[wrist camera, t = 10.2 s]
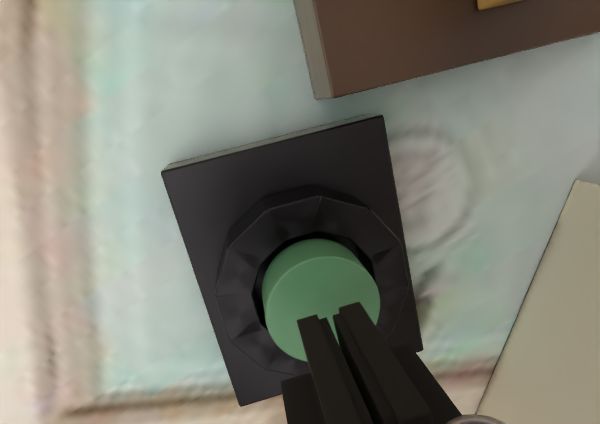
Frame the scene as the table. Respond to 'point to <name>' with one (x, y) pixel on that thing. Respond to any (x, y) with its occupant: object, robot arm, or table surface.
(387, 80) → the plate
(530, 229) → the table surface
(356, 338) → the robot arm
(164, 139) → the table surface
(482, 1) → the thumb turn
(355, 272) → the release button
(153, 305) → the table surface
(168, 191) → the button block
